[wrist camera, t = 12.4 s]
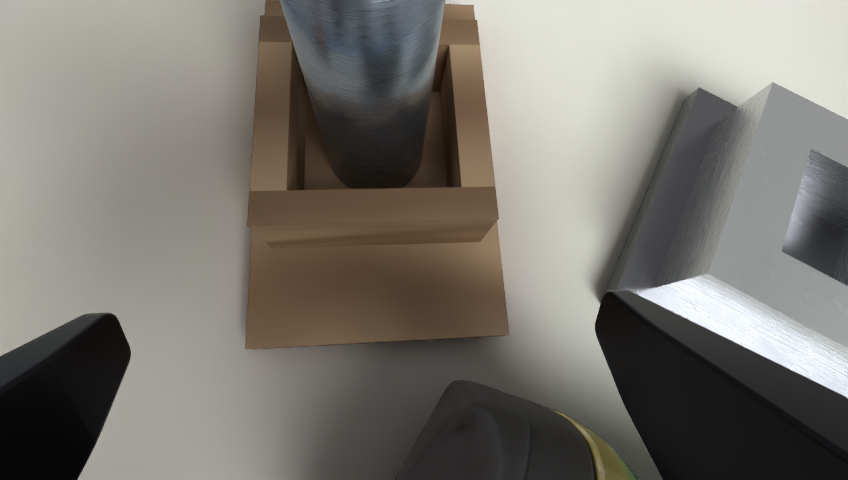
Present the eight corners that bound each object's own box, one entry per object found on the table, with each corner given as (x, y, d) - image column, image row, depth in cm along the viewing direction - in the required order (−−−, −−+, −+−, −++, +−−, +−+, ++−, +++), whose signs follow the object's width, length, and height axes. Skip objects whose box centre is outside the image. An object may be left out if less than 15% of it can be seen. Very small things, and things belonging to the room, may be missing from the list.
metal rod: (391, 212, 17) (392, -87, 6) (310, 165, 18) (156, -205, 6) (438, 139, 18) (517, -233, 7) (361, 97, 19) (312, -328, 7)
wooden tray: (502, 335, 17) (535, 329, 13) (253, 349, 16) (212, 346, 12) (469, 20, 22) (487, -53, 18) (271, 16, 21) (244, -62, 17)
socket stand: (860, 446, 17) (995, 471, 13) (600, 303, 18) (658, 288, 14) (905, 211, 21) (1024, 177, 17) (685, 99, 21) (750, 43, 18)
